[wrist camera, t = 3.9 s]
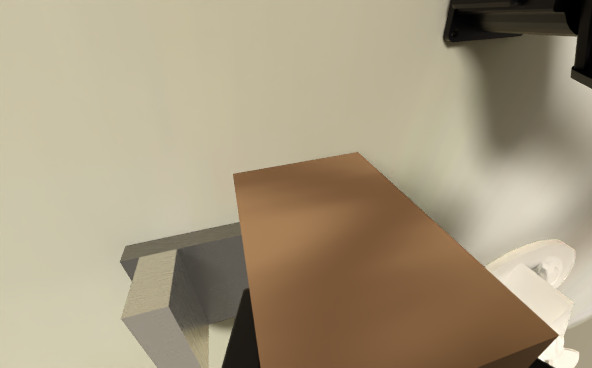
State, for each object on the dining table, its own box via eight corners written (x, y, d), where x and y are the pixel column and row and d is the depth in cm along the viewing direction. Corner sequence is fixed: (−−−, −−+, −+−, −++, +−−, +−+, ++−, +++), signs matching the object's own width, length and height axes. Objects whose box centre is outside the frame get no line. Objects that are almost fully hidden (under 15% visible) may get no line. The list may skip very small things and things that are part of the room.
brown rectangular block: (357, 152, 8) (559, 335, 4) (344, 299, 13) (427, 472, 8) (232, 174, 8) (271, 447, 3) (264, 322, 12) (300, 530, 7)
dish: (533, 308, 52) (602, 370, 43) (422, 353, 49) (472, 431, 40) (594, 217, 38) (714, 280, 29) (446, 271, 35) (530, 362, 26)
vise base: (390, 190, 24) (438, 236, 19) (377, 264, 29) (411, 314, 24) (125, 246, 19) (96, 325, 14) (168, 320, 25) (157, 396, 20)
